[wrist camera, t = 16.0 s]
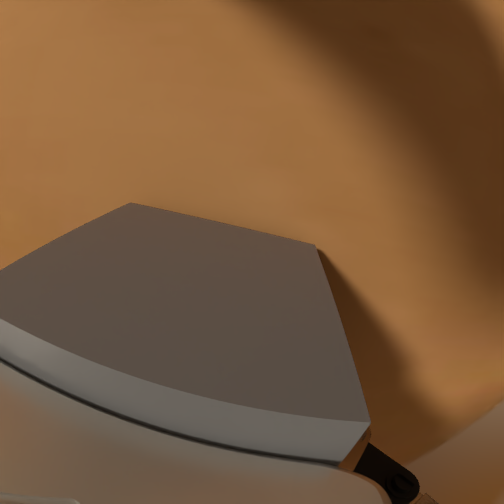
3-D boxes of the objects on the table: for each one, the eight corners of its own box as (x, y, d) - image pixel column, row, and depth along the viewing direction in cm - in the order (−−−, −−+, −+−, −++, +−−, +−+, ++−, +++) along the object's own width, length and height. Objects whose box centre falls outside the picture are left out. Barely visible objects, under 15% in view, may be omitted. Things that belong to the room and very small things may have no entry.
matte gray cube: (130, 202, 12) (-39, 295, 4) (315, 245, 12) (370, 422, 4) (122, 348, 15) (39, 480, 7) (268, 386, 15) (256, 548, 7)
